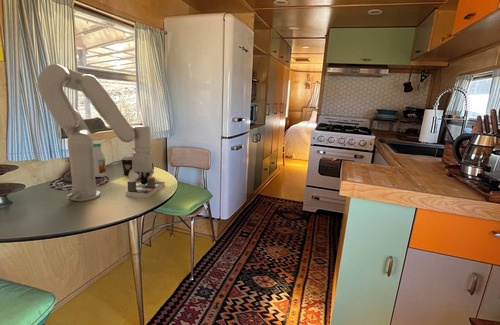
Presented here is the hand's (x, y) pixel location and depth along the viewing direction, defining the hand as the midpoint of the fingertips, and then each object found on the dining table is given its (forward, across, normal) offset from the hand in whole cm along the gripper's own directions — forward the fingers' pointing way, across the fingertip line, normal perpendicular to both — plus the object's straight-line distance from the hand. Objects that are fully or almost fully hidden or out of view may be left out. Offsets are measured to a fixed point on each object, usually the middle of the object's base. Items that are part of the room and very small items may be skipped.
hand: (144, 183), depth 142 cm
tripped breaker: (+1, +4, 0) cm, 4 cm away
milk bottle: (+4, -36, +14) cm, 39 cm away
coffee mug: (+4, -21, +24) cm, 32 cm away
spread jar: (+4, -11, +17) cm, 21 cm away
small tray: (+4, +1, 0) cm, 4 cm away
